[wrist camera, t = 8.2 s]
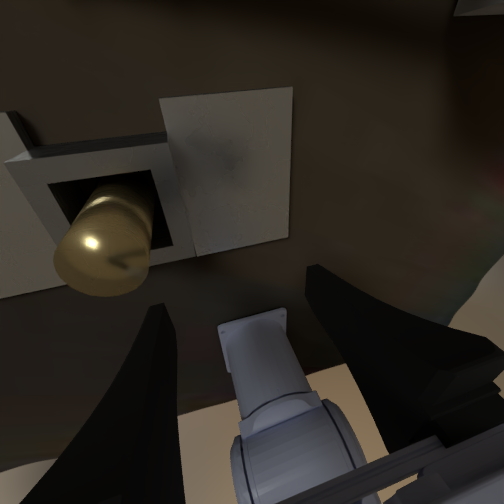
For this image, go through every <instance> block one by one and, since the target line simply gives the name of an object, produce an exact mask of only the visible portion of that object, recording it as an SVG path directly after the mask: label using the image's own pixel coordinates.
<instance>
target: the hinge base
mask: <svg viewBox="0 0 504 504" xmlns="http://www.w3.org/2000/svg"><path fill="white" fill-rule="evenodd" d="M292 94H293V87H288V86H285V87H274V88H263V89H252V90H240V91H229V92H218V93H206V94H195V95H184V96H173V97H161V98H159V101H160V106H161V110H162V114H163V118H164V122H165V126H166V130H167V131H166V132H157V133H148V134H140V135H131V136H122V137H113V138H105V139H96V140H87V141H78V142H70V143H61V144H52V145H44V146H34V144H33V142H32V140H31V138H30V137H29V135H28V133H27V131H26V129H25V127H24V126H23V124H22V122H21V120H20V118H19V117H18V115H17V113H16V111H3V112H0V298H5V297H10V296H14V295H19V294H24V293H29V292H33V291H38V290H43V289H47V288H52V287H57V286H61V285H66V283H65V282H64V281H63V280H62V279H61V278H60V277H59V275H58V274H57V272H56V270H55V268H54V263H53V256H54V252H55V250H56V248H57V246H58V245H59V243H60V242H61V240H62V239H63V237H64V236H65V234H66V232H67V231H68V229H69V228H70V226H71V225H72V223H73V222H74V220H75V219H76V217H77V216H78V214H79V212H80V211H81V209H82V208H83V206H84V205H85V203H86V202H87V201H86V199H85V197H84V195H83V193H82V191H81V189H80V187H79V185H78V183H77V181H76V180H78V179H85V178H92V177H99V176H107V175H114V174H121V173H128V172H135V171H142V170H149V169H151V172H152V175H153V179H154V182H155V185H156V189H157V192H158V195H159V199H160V202H161V205H162V208H163V212H164V215H165V218H166V222H167V223H162V224H156V225H153V228H152V239H151V250H150V261H149V266H153V265H157V264H162V263H167V262H172V261H176V260H181V259H186V258H190V257H195V256H196V255H195V250H196V254H197V256H202V255H207V254H211V253H216V252H221V251H225V250H230V249H235V248H239V247H244V246H249V245H253V244H258V243H263V242H267V241H272V240H277V239H282V238H286V237H288V224H289V192H290V159H291V127H292ZM193 242H194V243H193ZM194 246H195V249H194Z"/></svg>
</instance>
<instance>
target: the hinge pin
mask: <svg viewBox="0 0 504 504" xmlns="http://www.w3.org/2000/svg"><path fill="white" fill-rule="evenodd" d="M154 206H155V195H154V191H153V189H152V187H151V186H150V184H149V183H148V182H147V181H146V180H145V179H144V178H143V177H141V176H139V175H138V174H135V173H133V172H128V173H121V174H114V175H107V176H104V177H103V178H102V179H101V180H100V182H99V183H98V185H97V186H96V188H95V189H94V191H93V192H92V194H91V196H90V197H89V199H88V200H87V202H86V203H85V205H84V206H83V208H82V209H81V211H80V212H79V214H78V216H77V217H76V219H75V220H74V222H73V223H72V225H71V226H70V228H69V229H68V231H67V232H66V234H65V236H64V237H63V239H62V240H61V242H60V243H59V245H58V246H57V248H56V250H55V252H54V256H53V263H54V268H55V270H56V272H57V274H58V275H59V277H60V278H61V279H62V280H63V281H64V282H65V283H66V284H67V285H69V286H70V287H72V288H73V289H75V290H77V291H80V292H82V293H85V294H89V295H94V296H102V297H109V296H118V295H122V294H125V293H128V292H130V291H132V290H134V289H136V288H137V287H138V286H140V285H141V284H142V283H143V281H144V280H145V279H146V277H147V274H148V271H149V261H150V250H151V239H152V228H153V217H154Z"/></svg>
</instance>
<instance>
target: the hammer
mask: <svg viewBox="0 0 504 504" xmlns="http://www.w3.org/2000/svg"><path fill="white" fill-rule="evenodd" d="M497 14H504V0H458V3H457V6H456V9H455V12H454V15H453V16H473V15H497Z"/></svg>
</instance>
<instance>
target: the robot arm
mask: <svg viewBox="0 0 504 504" xmlns="http://www.w3.org/2000/svg"><path fill="white" fill-rule="evenodd" d="M305 296H306V298H307V300H308V302H309V304H310V306H311V308H312V310H313V312H314V314H315V315H316V317H317V318H318V320H319V321H320V323H321V324H322V326H323V327H324V329H325V330H326V332H327V333H328V335H329V336H330V338H331V339H332V341H333V342H334V344H335V345H336V347H337V348H338V350H339V352H340V353H341V355H342V357H343V359H344V361H345V362H346V364H347V366H348V368H349V370H350V372H351V374H352V376H353V378H354V379H355V382H356V383H357V385H358V387H359V390H360V391H361V393H362V396H363V398H364V400H365V402H366V404H367V406H368V408H369V410H370V413H371V415H372V417H373V419H374V421H375V424H376V426H377V428H378V430H379V433H380V435H381V437H382V440H383V442H384V444H385V447H386V449H387V451H388V452H389V455H387V456H384V457H382V458H380V459H377V460H375V461H373V462H371V463H368V464H367V461H366V458H365V455H364V453H363V450H362V448H361V446H360V444H359V441H358V439H357V437H356V435H355V433H354V431H353V429H352V427H351V426H350V424H349V422H348V420H347V419H346V417H345V415H344V414H343V412H342V411H341V409H340V408H339V407H338V406H337V405H336V404H334V403H333V402H331V401H329V400H328V399H324V400H320V398H319V396H318V393H317V391H312V389H311V387H310V385H309V383H308V381H307V379H306V377H305V375H304V372H303V370H302V368H301V366H300V364H299V362H298V360H297V358H296V355H295V353H294V351H293V349H292V347H291V345H290V343H289V340H288V338H287V336H286V316H287V311H286V309H285V308H279V309H275V310H271V311H268V312H264V313H260V314H257V315H253V316H249V317H246V318H242V319H238V320H234V321H231V322H227V323H223V324H220V325H219V326H218V332H219V337H220V341H221V345H222V350H223V354H224V359H225V363H226V367H227V371H228V372H231V374H232V379H233V383H234V388H235V392H236V397H237V401H238V406H239V410H240V415H241V419H242V421H240V422H239V428H240V433H241V435H238V436H236V437H235V439H234V442H233V445H232V447H231V451H230V459H231V469H232V476H233V482H234V488H235V493H236V497H237V502H238V504H381V501H380V499H379V496H378V494H377V492H378V491H380V490H382V489H384V488H386V487H388V486H391V485H393V484H395V483H397V482H399V481H402V480H404V479H406V478H408V477H410V476H413V475H415V474H417V473H418V475H417V480H415V481H413V482H411V483H409V484H408V485H406V486H404V487H402V488H400V489H398V490H397V491H396V493H395V494H394V495H393V496H392V497H391V498H389V499H388V500H386V501H385V502H384V503H383V504H504V399H503V398H502V397H501V396H500V395H499V394H498V393H499V392H500V391H501V390H500V388H499V387H498V386H497V385H496V384H495V383H494V382H493V380H494V379H495V378H496V377H497V376H498V375H499V374H500V373H501V372H502V371H503V370H504V351H503V350H501V349H500V348H499V347H498V346H496V345H495V344H494V343H493V342H491V341H490V340H489V339H488V338H486V337H483V336H479V335H476V334H471V333H468V332H464V331H461V330H457V329H453V328H450V327H447V326H444V325H441V324H437V323H434V322H431V321H428V320H426V319H423V318H420V317H417V316H415V315H412V314H410V313H407V312H405V311H402V310H400V309H397V308H395V307H393V306H391V305H389V304H386V303H384V302H382V301H380V300H378V299H376V298H374V297H372V296H370V295H368V294H367V293H365V292H363V291H361V290H359V289H358V288H356V287H354V286H352V285H351V284H349V283H347V282H346V281H344V280H343V279H341V278H339V277H338V276H336V275H335V274H333V273H331V272H330V271H328V270H327V269H325V268H324V267H322V266H320V265H319V264H316V265H312V266H308V267H307V273H306V287H305ZM179 445H180V444H179V432H178V419H177V341H176V332H175V328H174V326H173V324H172V321H171V319H170V317H169V314H168V312H167V309H166V307H165V305H164V303H161V304H157V305H153V306H150V307H149V309H148V311H147V314H146V316H145V319H144V321H143V323H142V326H141V328H140V330H139V333H138V335H137V337H136V339H135V341H134V343H133V345H132V347H131V350H130V352H129V354H128V355H127V357H126V359H125V361H124V363H123V365H122V367H121V368H120V370H119V372H118V374H117V375H116V377H115V379H114V381H113V382H112V384H111V386H110V387H109V389H108V390H107V392H106V393H105V395H104V397H103V398H102V400H101V401H100V403H99V404H98V405H97V407H96V408H95V410H94V411H93V413H92V414H91V416H90V417H89V419H88V420H87V421H86V423H85V424H84V425H83V427H82V428H81V429H80V431H79V432H78V433H77V435H76V436H75V437H74V438H73V440H72V441H71V442H70V444H69V445H68V446H67V448H66V449H65V450H64V451H63V453H62V454H61V455H60V457H59V458H58V459H57V460H56V461H55V463H54V464H53V465H52V466H51V467H50V469H49V470H48V471H47V472H46V473H45V475H44V476H43V477H42V478H41V479H40V480H39V482H38V483H37V484H36V485H35V486H34V487H33V489H32V490H31V491H30V492H29V493H28V494H27V495H26V497H25V498H24V499H23V500H22V501H21V502H20V503H19V504H186V502H185V494H184V485H183V475H182V466H181V455H180V446H179Z"/></svg>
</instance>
